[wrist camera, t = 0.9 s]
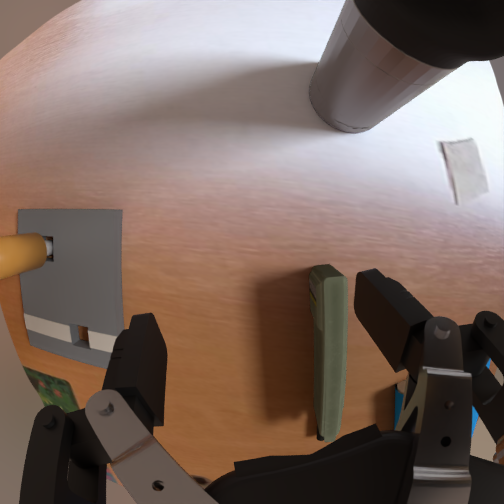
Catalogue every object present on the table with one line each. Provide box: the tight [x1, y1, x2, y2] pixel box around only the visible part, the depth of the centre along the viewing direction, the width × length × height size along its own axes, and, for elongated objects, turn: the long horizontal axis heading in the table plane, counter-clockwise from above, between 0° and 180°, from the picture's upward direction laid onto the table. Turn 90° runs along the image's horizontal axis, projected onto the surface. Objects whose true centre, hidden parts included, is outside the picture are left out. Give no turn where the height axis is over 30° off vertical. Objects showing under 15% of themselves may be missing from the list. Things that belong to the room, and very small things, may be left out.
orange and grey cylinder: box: [0, 232, 54, 280], centre depth 24 cm, size 4×4×14 cm
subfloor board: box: [18, 209, 124, 369], centre depth 31 cm, size 20×17×2 cm
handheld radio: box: [309, 264, 348, 442], centre depth 29 cm, size 7×3×25 cm
